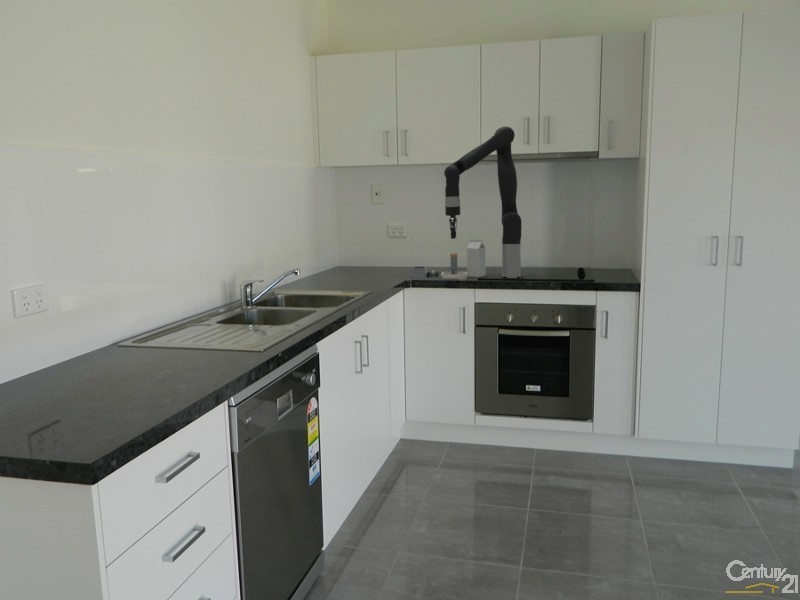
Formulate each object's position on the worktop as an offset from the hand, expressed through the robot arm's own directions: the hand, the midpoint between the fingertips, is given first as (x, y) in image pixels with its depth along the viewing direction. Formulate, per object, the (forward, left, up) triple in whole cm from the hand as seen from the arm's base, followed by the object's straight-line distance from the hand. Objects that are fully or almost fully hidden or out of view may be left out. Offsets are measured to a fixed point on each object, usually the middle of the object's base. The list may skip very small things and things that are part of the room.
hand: (453, 238), depth 340 cm
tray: (0, 0, -21) cm, 21 cm away
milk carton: (-11, -10, -21) cm, 26 cm away
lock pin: (0, 0, -20) cm, 20 cm away
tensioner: (+14, -1, -21) cm, 25 cm away
